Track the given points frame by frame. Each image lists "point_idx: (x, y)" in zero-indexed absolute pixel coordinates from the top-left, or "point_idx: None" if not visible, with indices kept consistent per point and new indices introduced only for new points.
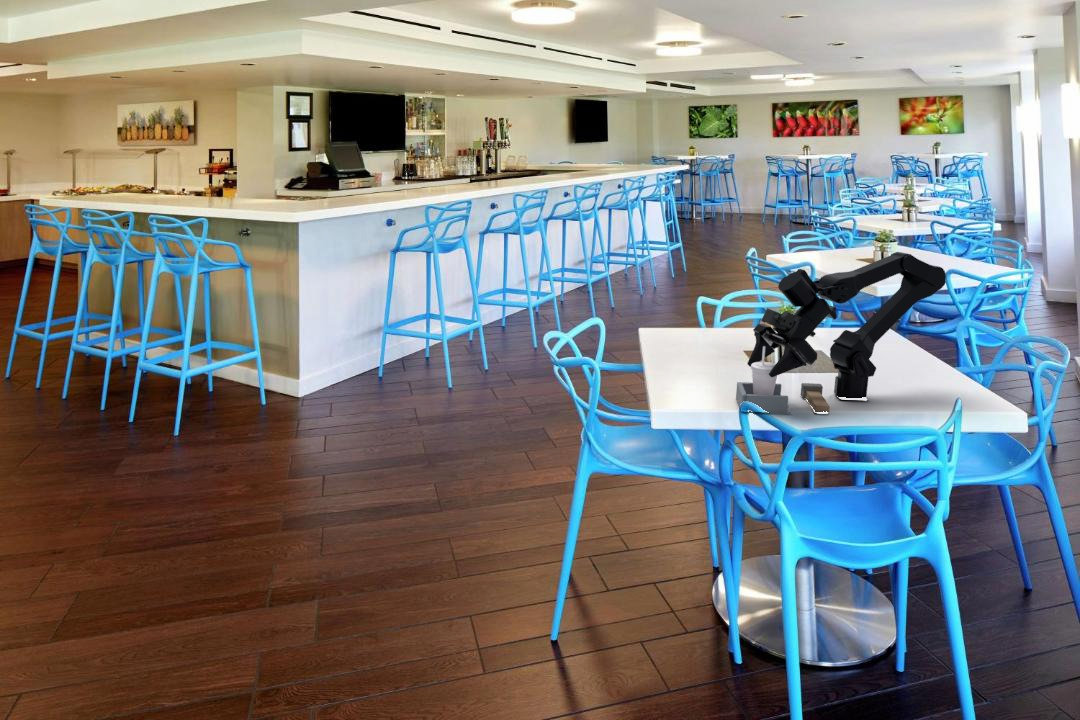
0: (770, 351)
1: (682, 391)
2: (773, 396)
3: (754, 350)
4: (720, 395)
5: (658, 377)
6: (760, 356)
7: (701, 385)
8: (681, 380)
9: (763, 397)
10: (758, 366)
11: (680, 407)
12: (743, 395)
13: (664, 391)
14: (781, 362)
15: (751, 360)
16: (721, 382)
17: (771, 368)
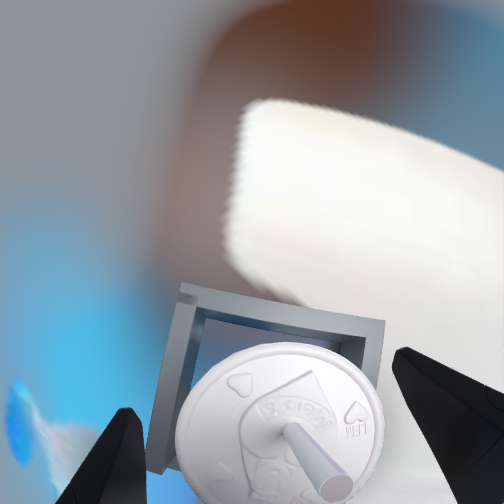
0: (467, 502)
1: (410, 185)
2: (152, 414)
3: (480, 395)
4: (388, 284)
5: (489, 175)
6: (441, 437)
7: (466, 253)
8: (487, 216)
9: (162, 373)
10: (269, 390)
11: (263, 139)
12: (181, 287)
13: (400, 146)
14: (64, 492)
15: (413, 371)
16: (493, 318)
17: (204, 463)
